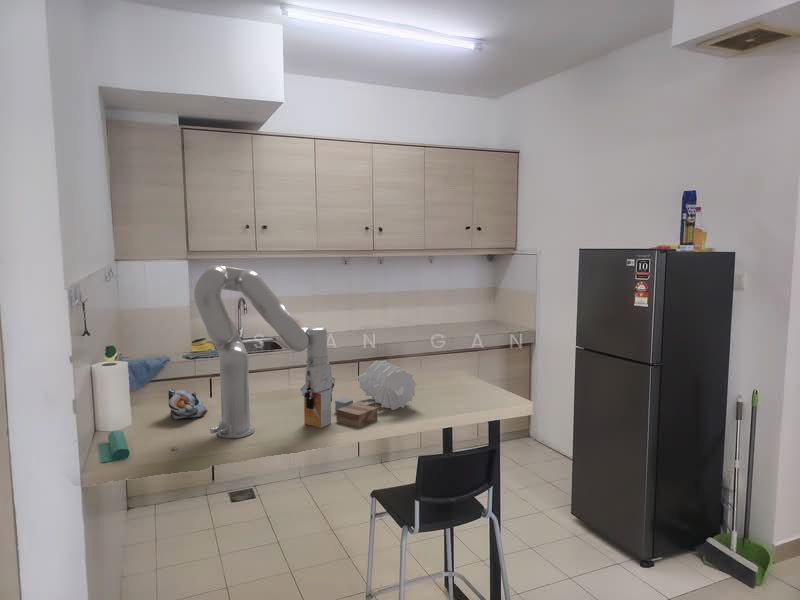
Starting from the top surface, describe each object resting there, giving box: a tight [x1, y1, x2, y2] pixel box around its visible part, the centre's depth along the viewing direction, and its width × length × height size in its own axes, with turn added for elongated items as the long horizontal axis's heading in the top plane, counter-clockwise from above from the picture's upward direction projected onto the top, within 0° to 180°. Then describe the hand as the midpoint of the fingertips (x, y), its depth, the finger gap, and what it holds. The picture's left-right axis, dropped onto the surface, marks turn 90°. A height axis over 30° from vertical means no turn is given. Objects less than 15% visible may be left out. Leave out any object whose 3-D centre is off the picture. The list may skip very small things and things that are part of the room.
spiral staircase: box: [357, 360, 417, 411], centre depth 228 cm, size 18×18×25 cm
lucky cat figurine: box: [167, 388, 209, 420], centre depth 210 cm, size 15×12×14 cm
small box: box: [303, 389, 332, 429], centre depth 203 cm, size 8×6×13 cm
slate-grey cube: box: [334, 397, 354, 414], centre depth 217 cm, size 5×5×5 cm
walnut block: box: [336, 402, 378, 428], centre depth 207 cm, size 11×11×5 cm
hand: (319, 405), depth 203 cm, fingers open, 9 cm apart
